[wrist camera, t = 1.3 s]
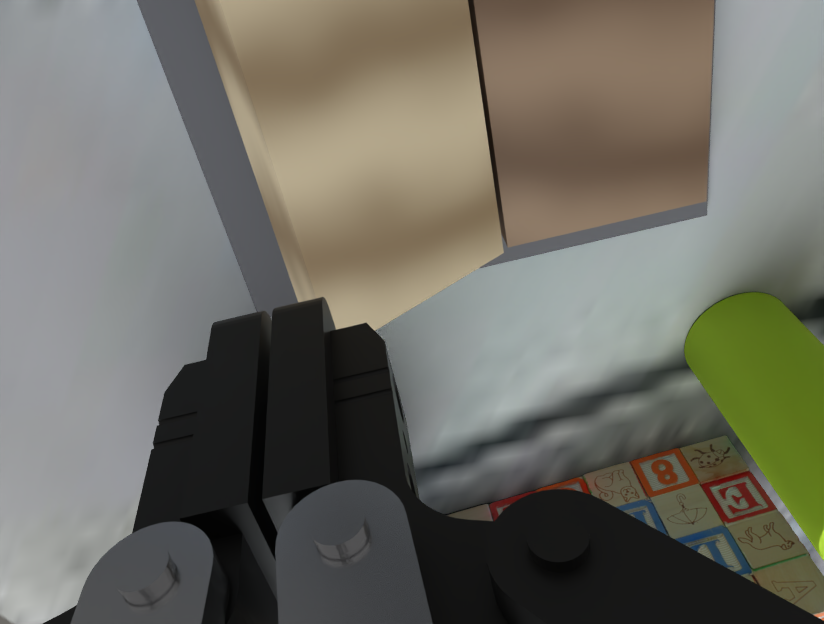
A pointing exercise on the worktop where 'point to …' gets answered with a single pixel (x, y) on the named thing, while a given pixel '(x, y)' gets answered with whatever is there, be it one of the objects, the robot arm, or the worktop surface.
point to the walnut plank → (593, 109)
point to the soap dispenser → (768, 395)
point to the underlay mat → (234, 178)
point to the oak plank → (362, 144)
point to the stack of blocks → (703, 514)
